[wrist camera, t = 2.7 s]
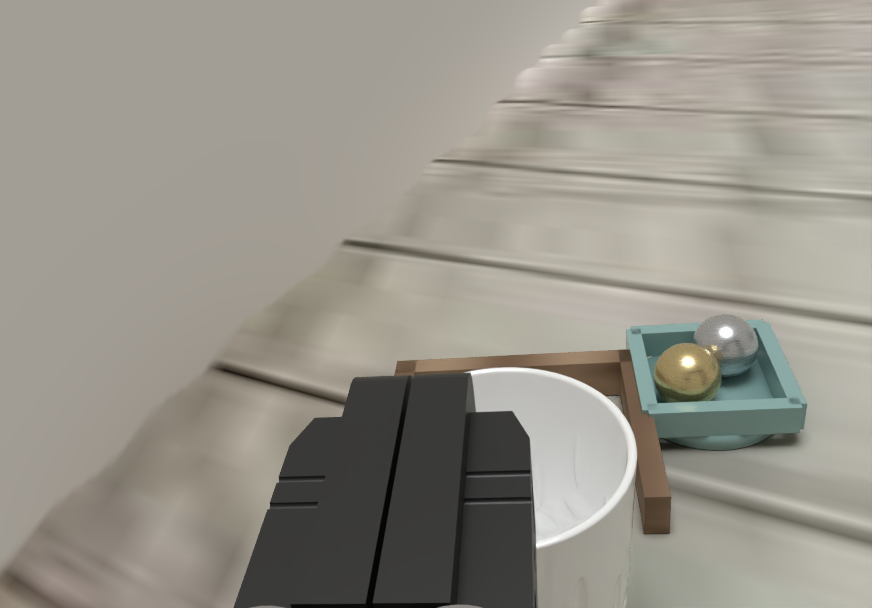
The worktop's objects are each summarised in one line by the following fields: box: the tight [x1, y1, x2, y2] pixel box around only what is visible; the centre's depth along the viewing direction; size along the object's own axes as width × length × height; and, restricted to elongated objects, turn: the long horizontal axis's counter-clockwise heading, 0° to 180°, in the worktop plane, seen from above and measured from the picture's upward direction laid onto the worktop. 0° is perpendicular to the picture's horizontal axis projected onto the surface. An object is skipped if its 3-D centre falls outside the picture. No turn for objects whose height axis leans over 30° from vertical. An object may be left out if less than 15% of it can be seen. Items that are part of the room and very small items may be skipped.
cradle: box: [395, 349, 671, 534], centre depth 38 cm, size 12×10×2 cm
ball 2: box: [692, 314, 759, 378], centre depth 40 cm, size 3×3×3 cm
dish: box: [626, 319, 807, 450], centre depth 40 cm, size 7×7×2 cm
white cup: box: [464, 367, 637, 608], centre depth 27 cm, size 8×8×10 cm
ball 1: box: [653, 343, 722, 403], centre depth 38 cm, size 3×3×3 cm
